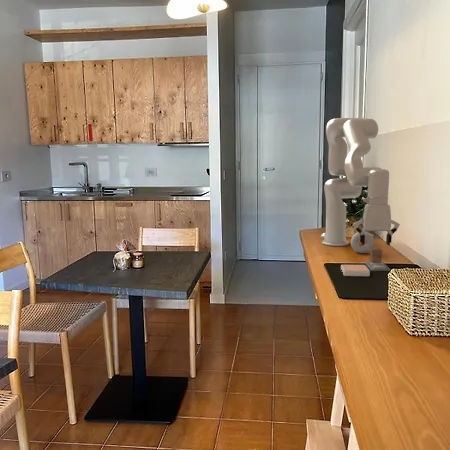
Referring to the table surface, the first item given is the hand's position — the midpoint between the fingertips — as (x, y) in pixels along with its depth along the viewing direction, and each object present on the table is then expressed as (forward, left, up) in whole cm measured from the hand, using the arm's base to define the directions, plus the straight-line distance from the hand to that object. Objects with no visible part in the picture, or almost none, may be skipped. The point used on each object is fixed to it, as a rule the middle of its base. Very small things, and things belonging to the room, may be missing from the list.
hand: (375, 244), depth 178 cm
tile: (0, -12, -7) cm, 14 cm away
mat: (+3, -2, -8) cm, 9 cm away
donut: (-17, +12, -8) cm, 22 cm away
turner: (+3, -2, -8) cm, 9 cm away
